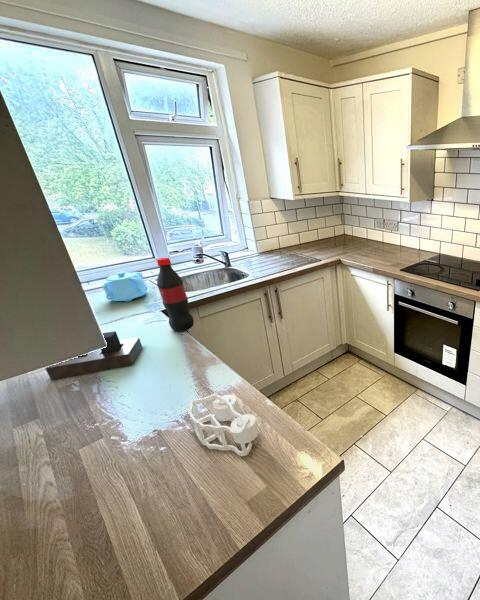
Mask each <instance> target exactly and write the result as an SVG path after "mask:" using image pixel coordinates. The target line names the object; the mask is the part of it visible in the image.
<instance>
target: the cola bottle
mask: <svg viewBox="0 0 480 600" xmlns="http://www.w3.org/2000/svg"><path fill="white" fill-rule="evenodd" d="M156 262H157V266H158V267H159V272H158V274H157V279H156V286H157V288H158V291H159V295H160V298H161V301H162V305H163V307H164V309H165V311H166V312H167V314H168V324H169V327H170V328H171V330H173V331H174V332H184V331H188V330H190V329H191V328H193V327H194V324H195V320H194V317H193V315H192V314H191V312H190V309H189V308H190V307H189V299H188V296H187V293H186V290H185V284H184V280H183V279H182V277H181V276H180V275H179V274H178V273H177V272H176V271H175V270H174V268H173V267H172V266H171V265H172V263H171V262H172V261H171V260H170V258H169V257H160V258H157V260H156Z"/></svg>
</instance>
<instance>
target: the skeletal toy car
mask: <svg viewBox="0 0 480 600" xmlns="http://www.w3.org/2000/svg"><path fill="white" fill-rule="evenodd" d="M214 399H215V400H214ZM212 400H214V401H213V403H212V408H213V412H214V414H212V413H209V414H207V415H205V416H203V417H201V415H200V411H199V409H198V405H199V404H204V403H207V402H210V401H212ZM187 412H188V415H189V417H190V420H191V422H192V423H191V424H192V426H193V429H194V432H195V435H196V437H197V439H198V440H199V442H200V443H201V445H203V446H206V447H207V448H208V449H209V450H218V451H224V452H226V451H232V452H234V453H235V454H237V456H239V457H246V456H248V455H249V453H250V452H251V450H252V447H253V446H252V445H253V444H252V441H254V440H255V439H256V438H257V437H258V435H259V426H258V423H257V418H256V416H255V415H254V414H250V413H246V414H245V413H244V414H241V413H240V407H239V402H238V398H237V396H235V395H234V394H224V395H222V396H221V395H219V394H218V393H212V394H210V395H207V396H205V397H204V396H203V397H201V398H194V399H192V400H191V401H190V402H189V408H188V409H187ZM228 421H229V422H230V426H228V425H221V424H220V422H228ZM206 422H210V423H211V424H205V423H206ZM203 431H213V433H212V434H211V435H210V436H208V437H206V438H205V434H204V432H203ZM225 432H228V433H229V434H230V435H232V437H233V441H234V442H235V443H236V444H238V445H240V448H241V450H239V449H238V447H236V446H235V445H232V444H228V443H227V439H226V436H225ZM216 439H217V440H218V441H219V442H220V444H217V443H210V442H212V441H214V440H216ZM246 444H248V445H247V447H246Z"/></svg>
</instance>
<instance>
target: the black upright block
mask: <svg viewBox="0 0 480 600" xmlns="http://www.w3.org/2000/svg"><path fill="white" fill-rule="evenodd" d="M102 333H103V335H104V338H105V340H106V342H107V347H106V348H103V349H101V350H102V353H103V354H105V353H111V352H117V351H120V349H121V348H122V346H121V344H120V341H119V340H120V339H119V336H118V333H117V331H116V330H114V331H108V332H102Z"/></svg>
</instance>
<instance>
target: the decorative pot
mask: <svg viewBox="0 0 480 600" xmlns="http://www.w3.org/2000/svg"><path fill="white" fill-rule="evenodd" d="M102 289H103V290H104V293H105V299H107V300H109V301H110V300H111V301H115V302H126V303H127V302H131V301H133V300H134V299H136V298H137V299H138V298H141V297H143V296H144V295H145V294H147V292H148V286H147V283H146V282H145V281H144V276H143V274H142V272H139V271H134V272H125V271H123V270H122V271H118V272H116V274H114V275H109V276H107V277H106V281H105V282H104V283H102Z"/></svg>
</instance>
